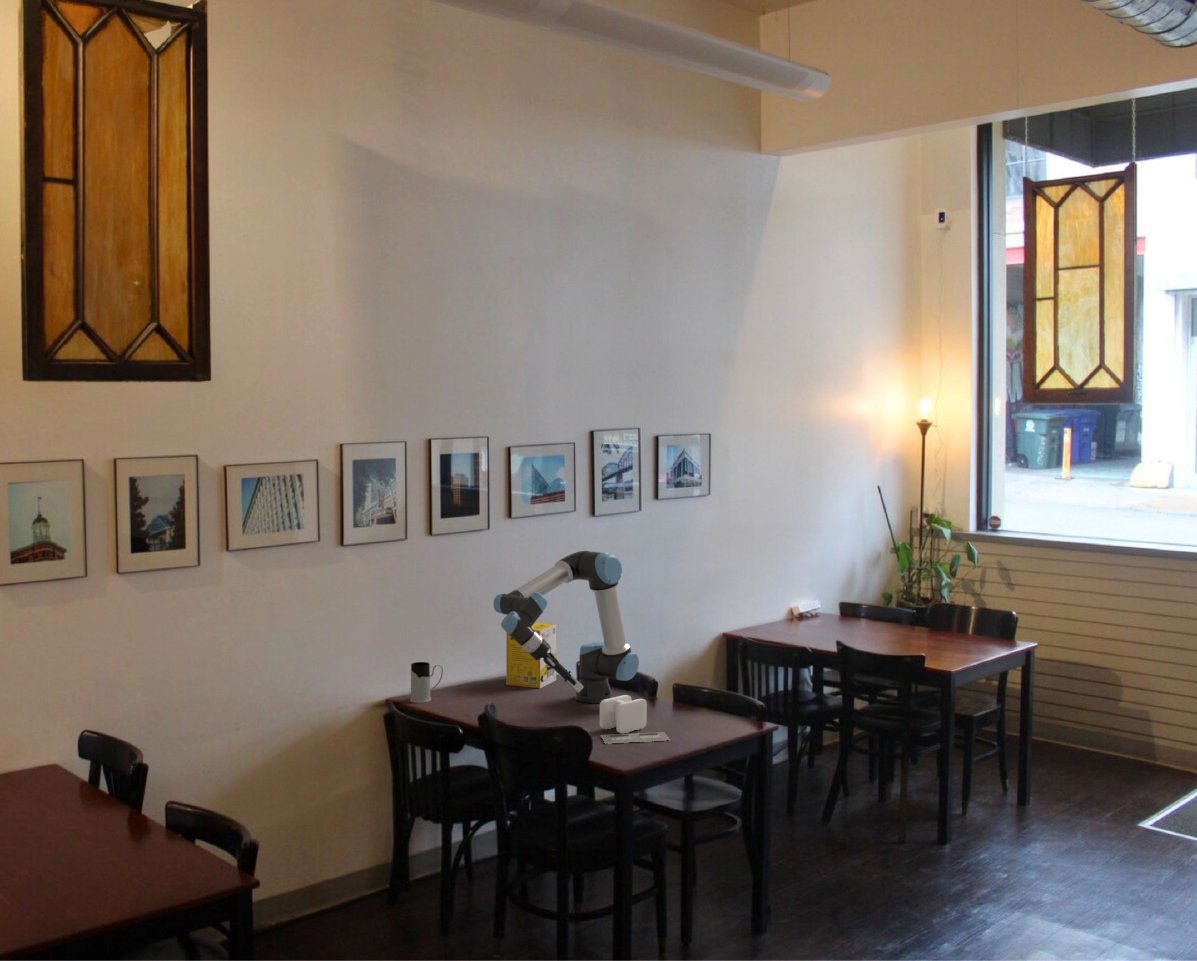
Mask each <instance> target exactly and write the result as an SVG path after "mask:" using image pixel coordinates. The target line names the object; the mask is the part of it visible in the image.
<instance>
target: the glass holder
mask: <svg viewBox="0 0 1197 961" xmlns="http://www.w3.org/2000/svg"><path fill="white" fill-rule="evenodd" d="M436 667H441V668H440V669H441V675H440V678H439V680H438V681H437V683H436V684H435V685H434V686H433V687H432V688H431V677H432V676H434V675H435V673H434V672H435V668H436ZM430 672H431V673H432V674H430ZM443 672H444V669H443V667H442V666H441V665H440V664H436V665H434V666H433V667H432V671H431V670H430V663H429V662H426V661H417V662H413V663H411V665H410V699H409V701H410V702H411V703H414V704H415V703H416V704H422V703H429V702H430V701H432V698H431V693H432V692H433V690H434V689H436V687H437V686H438V685H439V684H440V682H441V680H442V678H443V674H444V673H443Z"/></svg>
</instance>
